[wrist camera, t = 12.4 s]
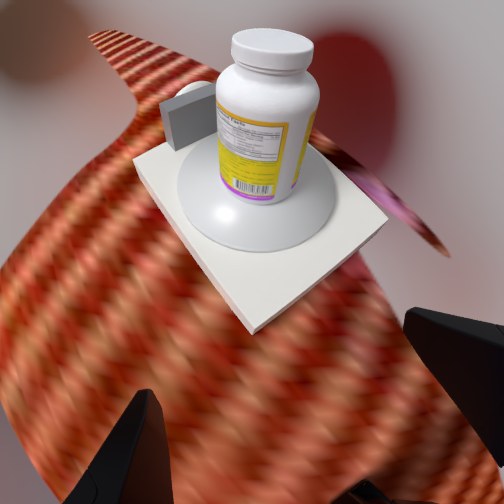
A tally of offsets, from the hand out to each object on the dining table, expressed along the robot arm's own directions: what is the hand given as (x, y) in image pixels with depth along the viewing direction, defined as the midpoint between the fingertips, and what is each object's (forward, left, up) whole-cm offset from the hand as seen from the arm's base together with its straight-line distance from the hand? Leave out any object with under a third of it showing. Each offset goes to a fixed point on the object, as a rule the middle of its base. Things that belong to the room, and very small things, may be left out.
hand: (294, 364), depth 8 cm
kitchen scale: (+13, -9, -14) cm, 21 cm away
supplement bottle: (+13, -9, -10) cm, 19 cm away
